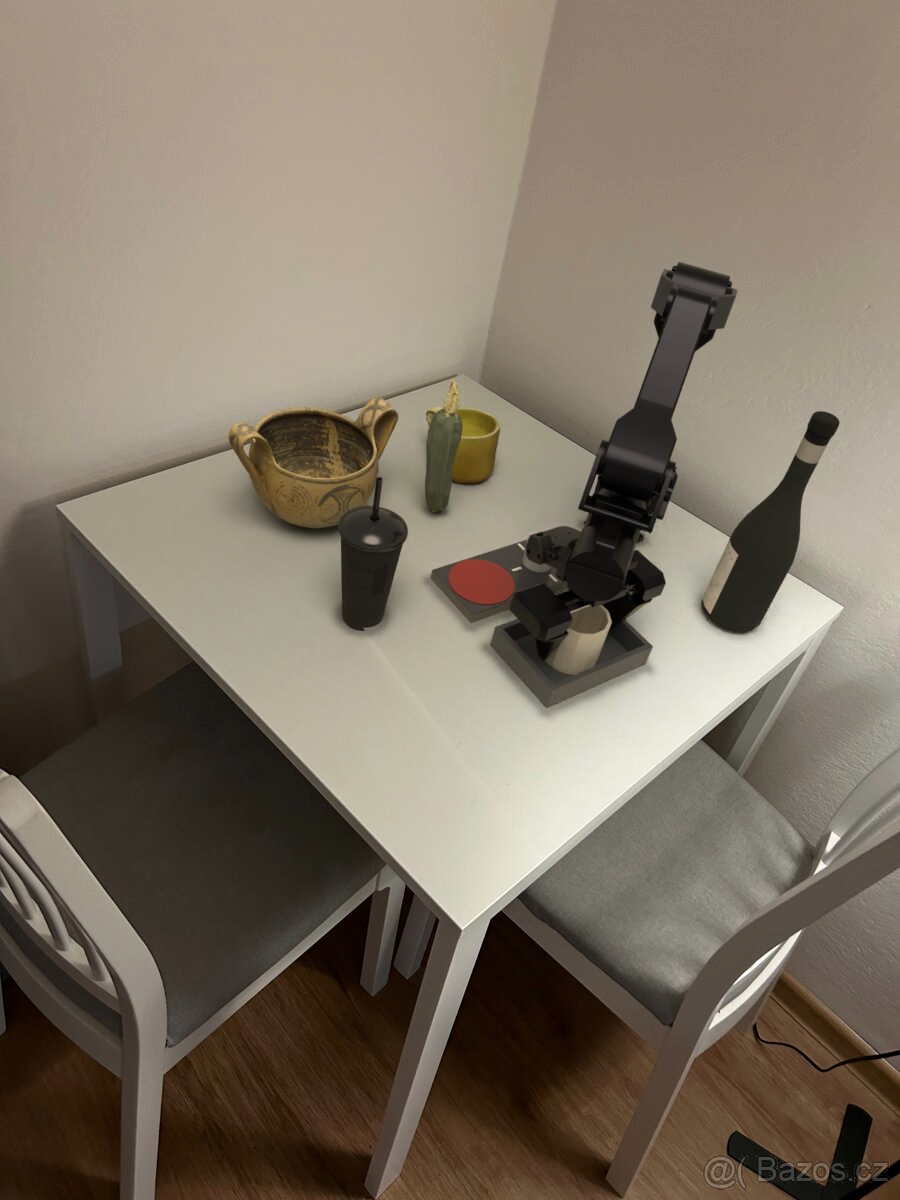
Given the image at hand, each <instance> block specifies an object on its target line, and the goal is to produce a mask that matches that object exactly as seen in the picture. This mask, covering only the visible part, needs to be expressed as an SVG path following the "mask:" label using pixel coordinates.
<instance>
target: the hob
mask: <svg viewBox="0 0 900 1200" xmlns="http://www.w3.org/2000/svg"><path fill="white" fill-rule="evenodd" d="M526 543H527V539H525V540H522V541H519V542H514V543H512V544H509V545H506V546H502V547H500V548H497V549H493V550H490V551H487V552H483V553H481V554H477V555H474V556H471V557H468V558H465V559H462V560H459V561H456V562H452V563H449V564H447V565H442V566H440V567H437V568H434V569H431V574H430V580H431V581H432V582H433V583H434V584H435V585H436V587H438V588H439V589H440V591H441V592H442V593H443V594H444V596H446V598H448V600H449V601H450V602H451V603H452V604H453V606H455V608H456V609H457V610H458V611H459V613H461V614H462V615H463V617H464V618H465V619H466V620H467V621H468V622H469V623H470V624H473V623H477V622H478V621H479V622H480V621H482V620H484V619H487V618H490V617H493V616H495V615H498V614H500V613H503V612H507V611H510V610H509V609H510V604H511V601H512V597H513V594H512V595H511V596H510V598H508V599H507V600H505V601H503V602H501V603H498V604H491V605H484V604H477V603H474V602H470V601H468V600H466V599H464V598H462V597H461V596H459V595H458V594H457V593H456V592H455V591H454V590H453V589H452V588H451V586H450V584H449V580H448V576H449V572H450V570H451V568H452V567H453V566H454V565H456V564H457V563H459V562H462V561H465V560H471V559H479V560H486V561H489V562H492V563H495V564H497V565H499V566H501V567H502V568H504V569H505V570H506V571H507V572H508V573H509V574H510V575H511V577H512V578H513V580H514V585H515V587H514V592H517V591H520V590H523V589H526V588H528V587H531V586H534V585H537V584H542V583H544V584H545V585H546V586H547V587H548V588H549V589H550V590H551V591H552V592H553V593H554V594H556V593H559V592H561V591H564V590H566V589H567V590H568V587H567V584H568V583H567V582H566V581H563V582H562V581H560V580H559V579H558V578H557V577H556V576H555V575H556V571H557V569H556V568H554V567H552V568H551V569H550V570H549V571H547V572H543V573H538V572H534V571H531V570H529V569H527V568H526V567H525V566H524V565H523V563H522V557H523V554H524V550H525V546H526ZM514 592H513V593H514Z"/></svg>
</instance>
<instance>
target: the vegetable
mask: <svg viewBox="0 0 900 1200" xmlns="http://www.w3.org/2000/svg"><path fill="white" fill-rule="evenodd" d="M450 382H451V383H450V385H449V386H450V387H449V388H448V389H449V390H448V391H447V394H446V397H445V399H444V401H443V409H441V410H439V411H438V412H437V413H436V414H435V415H434V416H433V418H432V420H431V422H430V425H428V429H427V436H426V445H425V452H426V454H425V455H426V465H425V479H424V496H425V503H426V505H427V506H428V508H429V509H430V510H431V511H432V512H433V513H436V512H438V511H439V512H442V511H443V510H444V509H445V508H447V507H448V505H449V501H450V495H451V490H452V482H453V481H452V468H453V462H454V459H455V456H456V452H457V449H458V446H459V443H460V440H461V436H462V428H463V425H462V420H461V418H460V416H459V415H458V413H456V412H457V411H458V410H459V408H461V398H460V393H459V390H458V388H459V387H458V384H457V382H456V381H455V380H453V379H451V380H450Z"/></svg>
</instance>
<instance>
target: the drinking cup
mask: <svg viewBox="0 0 900 1200" xmlns="http://www.w3.org/2000/svg"><path fill="white" fill-rule="evenodd" d="M382 486H383V477H380V476H377V478H376V484H375V487H374V492H373V501H372V505H364V506H361V507H356V508H353V509H351V510H349V511H347V512H345V513H344V514H343V515H342V516H341V518H340V520H339V524H337V529H338V534H339V535H340V566H341V567H340V573H341V574H340V575H341V577H340V581H341V619H342V620H343V622H344V624H346V625H347V626H348V627H349V628H351V629H353V630H356V631H364V632H365V631H366V629H368V628H372V627H376V626H377V625H379V624H380V623H381V622H382V621H383V618H384V616H385V612H386V608H387V603H388V600H389V596H390V593H391V590H392V586H393V583H394V582H393V581H394V578H395V576H396V575H395V574H396V570H397V567H398V563H399V561H400V556H401V552H402V548H403V545H404V543H405V542H406V541H407V539H408V536H409V528H408V524H407V522H406V520H404V518H403V517H402V516H400V515H399V514H398V513H397V512H395V511H393V510H390V509H388V508H386V507H382V506H380V504H381V495H382V488H383V487H382Z"/></svg>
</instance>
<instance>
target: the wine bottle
mask: <svg viewBox="0 0 900 1200" xmlns="http://www.w3.org/2000/svg"><path fill="white" fill-rule="evenodd" d="M839 419H840V418H838V417H837V416H836V415H834V413H831V412H828V411H824V410H823V411H822V410H818V411H815V412H813V413H812V415H811V417H810V418H809V421H808V423H807V428H806V430H805V433H804V435H803V437H802V439H801V441H800V443H799V445H798V448H797V450H796V451H795V453H794V457H793V458H792V460H791V462H790V464H789V466H788V468H787V470H786V472H785V474H784V476H783V478H782V479H781V481H780V482H779V484H778V485H777V486H776V487H775V488H774V490H772V491H771V493H770V494H769V495H767V496H766V498H765V499H764V500H762V501H761V502H760V503H758V504H757V505H756V506H754V508H753V509H751V510H750V511H749V512H748V513H747V514H746V515H745V516H744V517H743V518H742V519H741V520H740V522H739V523H738V524H737V525H736V527H735V528H734V530H733V531H732V533H731V535H730V537H729V539H728V541H727V543H726V546H725V548H724V549H723V552H722V554H721V556H720V558H719V561H718V563H717V565H716V567H715V569H714V572H713V573H712V576H711V577H710V580H709V583H708V584H707V587H706V589H705V591H704V594H703V596H702V598H701V608H702V611H703V613H704V615H705V616H706V618H707V619H708V620H709V621H710V622H711V623H713V624H714V625H715V626H717V627H718V628H720V629H722V630H724V631H728V632H732V633H739V634H740V633H743V634H745V633H749V632H752V631H754V630H755V629H757V627H759V626H760V625H761V623H762V622H763V620H764V618H765V616H766V615H767V614H768V611H769V609H770V607H771V605H772V603H773V601H774V599H775V598H776V595H778V592H779V590H780V588H781V587H782V584H783V582H784V581H785V579H786V577H787V575H788V573H789V571H790V570H791V567H792V566H793V564H794V561H795V558H796V555H797V552H798V547H799V543H800V538H801V520H802V519H801V517H802V503H803V497H804V494H805V491H806V489H807V485H808V484H809V482H810V479H811V478H812V475H813V473H814V472H815V469H816V468H817V466H818V465H819V464H818V463H819V462H820V460H821V458H822V456H823V454H824V452H825V450H826V449H827V446H828V445H829V443H830V441H831V439H832V438H833V437H834V436H835V434H836V433H837V431H838V428H839V426H840V423H841V422H840V421H841V420H839Z"/></svg>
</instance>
